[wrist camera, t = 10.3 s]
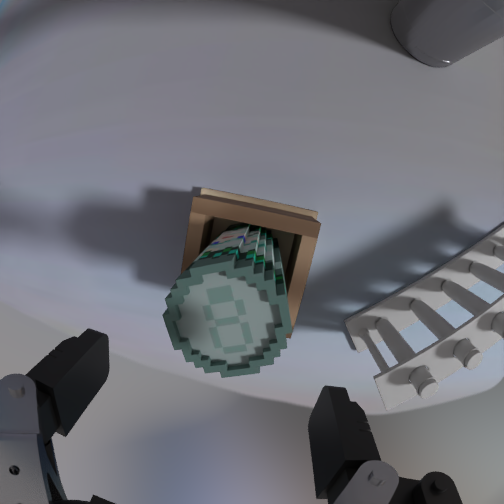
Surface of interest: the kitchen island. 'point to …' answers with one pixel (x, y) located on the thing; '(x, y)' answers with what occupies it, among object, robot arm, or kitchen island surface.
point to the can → (231, 304)
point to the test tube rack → (434, 323)
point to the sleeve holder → (261, 214)
